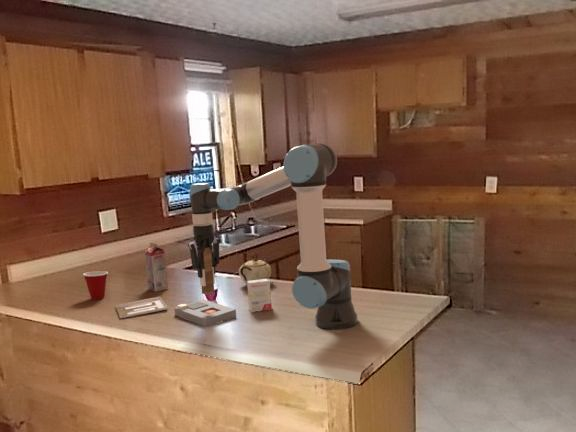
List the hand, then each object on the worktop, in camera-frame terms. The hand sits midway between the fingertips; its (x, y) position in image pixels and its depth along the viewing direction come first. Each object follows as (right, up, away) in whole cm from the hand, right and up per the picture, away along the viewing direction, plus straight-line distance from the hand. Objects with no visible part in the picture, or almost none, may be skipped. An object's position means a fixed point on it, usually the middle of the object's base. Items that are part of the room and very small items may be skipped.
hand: (207, 284), depth 218 cm
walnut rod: (0, -4, +1) cm, 4 cm away
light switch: (-30, -13, +20) cm, 39 cm away
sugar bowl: (+16, -6, +46) cm, 49 cm away
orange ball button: (+1, -12, +2) cm, 12 cm away
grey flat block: (-2, -13, +5) cm, 14 cm away
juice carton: (-30, -8, +50) cm, 59 cm away
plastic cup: (-56, -11, +41) cm, 70 cm away
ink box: (+20, -11, +9) cm, 25 cm away
